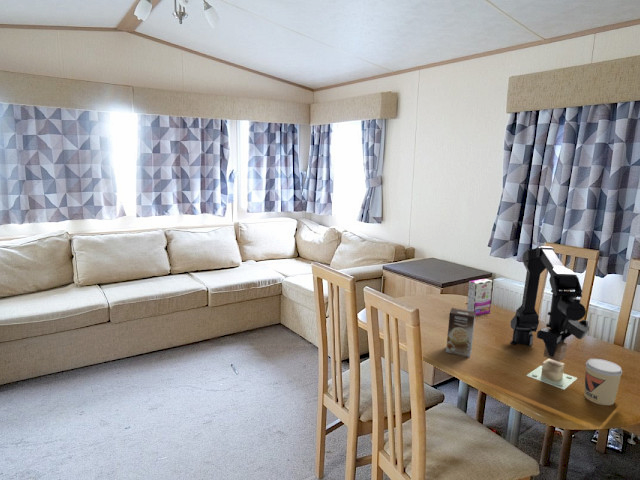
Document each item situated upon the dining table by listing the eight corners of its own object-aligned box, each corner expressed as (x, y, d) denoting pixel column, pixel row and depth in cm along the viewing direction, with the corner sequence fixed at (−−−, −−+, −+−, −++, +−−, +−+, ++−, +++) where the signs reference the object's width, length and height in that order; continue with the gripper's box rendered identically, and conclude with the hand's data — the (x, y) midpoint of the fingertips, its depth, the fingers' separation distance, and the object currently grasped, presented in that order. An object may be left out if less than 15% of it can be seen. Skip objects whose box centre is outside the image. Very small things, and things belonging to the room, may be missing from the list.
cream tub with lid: (574, 393, 139) (579, 358, 137) (602, 393, 140) (607, 357, 138) (595, 410, 130) (600, 372, 128) (624, 409, 131) (630, 372, 129)
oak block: (541, 376, 148) (542, 362, 147) (547, 371, 151) (548, 358, 150) (556, 381, 144) (558, 367, 143) (562, 377, 148) (564, 363, 147)
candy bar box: (482, 310, 217) (485, 278, 214) (490, 313, 213) (493, 280, 210) (465, 313, 212) (468, 280, 209) (473, 316, 207) (476, 283, 205)
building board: (525, 378, 148) (526, 374, 148) (540, 367, 156) (541, 364, 156) (563, 392, 140) (564, 388, 139) (577, 380, 148) (577, 377, 147)
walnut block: (543, 356, 147) (545, 342, 146) (549, 352, 150) (551, 338, 149) (559, 361, 143) (561, 347, 142) (565, 357, 146) (567, 343, 145)
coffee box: (445, 352, 167) (448, 312, 164) (447, 346, 173) (451, 307, 170) (470, 357, 163) (474, 316, 161) (472, 351, 169) (475, 311, 166)
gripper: (576, 323, 132) (570, 371, 134) (597, 310, 144) (591, 354, 147) (538, 313, 140) (533, 358, 143) (561, 301, 152) (555, 344, 155)
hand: (554, 354), depth 146 cm, fingers closed on walnut block, 5 cm apart
